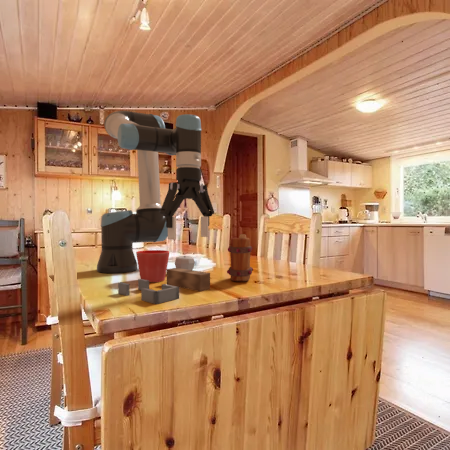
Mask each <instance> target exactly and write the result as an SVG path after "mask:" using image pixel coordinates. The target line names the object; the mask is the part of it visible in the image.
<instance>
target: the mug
mask: <svg viewBox="0 0 450 450" xmlns="http://www.w3.org/2000/svg"><path fill="white" fill-rule="evenodd" d="M252 250H253V246H251V238H250V237H247V235H246V234H243V233H241V234H239V236H238V237H231V238H230V246H229V247H228V248H227V251H228V252H229V253H230V267H229V268H228V269H227V270H226V274H228V275H229V276H230V280H231V281H233V282H239V283H241V282H242V283H243V282H247V281H250V278H251V275H252V274H253V271H254V268H253V267H252V266H251V252H252Z"/></svg>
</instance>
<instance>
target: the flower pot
mask: <svg viewBox="0 0 450 450" xmlns="http://www.w3.org/2000/svg"><path fill="white" fill-rule="evenodd" d="M169 256H170V251H169V250H163V249H160V250H159V249H153V250H152V249H149V250H147V249H146V250H138V251H136V259H137V260H136V262H137V268H138V272H139V279H144V280H149V283H161V282H163V281H165V279H166V276H167V269H168V264H169V263H168V262H169V258H170V257H169Z"/></svg>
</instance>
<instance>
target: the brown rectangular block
mask: <svg viewBox="0 0 450 450" xmlns="http://www.w3.org/2000/svg"><path fill="white" fill-rule="evenodd" d="M166 284H167V285H172V286H176V287H179V288H180V289H181V288H182V289H187V290H192V291H197V292H204V291H209V290H211V273H210V272H206V271H205V272H204V271H199V270H187V269H181V268H176V267H173V268H167V270H166Z"/></svg>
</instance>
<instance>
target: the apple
mask: <svg viewBox="0 0 450 450" xmlns="http://www.w3.org/2000/svg"><path fill="white" fill-rule="evenodd" d="M195 263H196V262H195V258H194V257H193V256H190V255H179V256H176V258H175V261H174V265H175V266H174V267H175V268H181V269H187V270H193V269H194V267H195Z"/></svg>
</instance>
